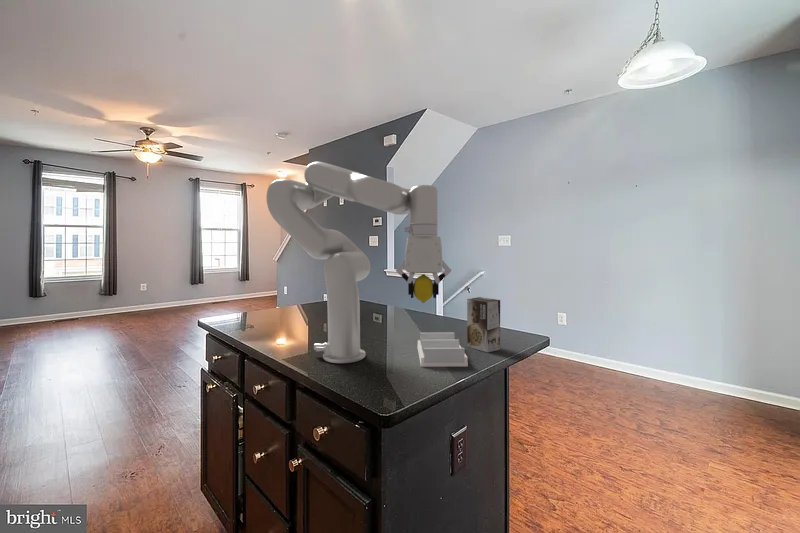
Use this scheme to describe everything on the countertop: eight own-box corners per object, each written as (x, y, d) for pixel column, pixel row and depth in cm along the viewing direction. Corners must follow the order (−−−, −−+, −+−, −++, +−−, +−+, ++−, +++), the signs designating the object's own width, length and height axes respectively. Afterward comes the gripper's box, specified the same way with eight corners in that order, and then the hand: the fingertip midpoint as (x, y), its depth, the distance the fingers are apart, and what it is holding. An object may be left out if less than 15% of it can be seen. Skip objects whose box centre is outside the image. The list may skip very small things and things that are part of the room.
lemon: (431, 305, 96) (431, 275, 95) (411, 304, 97) (411, 274, 97) (434, 301, 101) (434, 273, 101) (415, 301, 103) (415, 273, 102)
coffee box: (500, 349, 115) (501, 299, 114) (487, 353, 112) (487, 301, 111) (479, 343, 123) (480, 296, 122) (466, 346, 119) (466, 298, 118)
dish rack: (420, 366, 99) (420, 348, 99) (417, 347, 118) (417, 332, 118) (467, 366, 99) (467, 348, 99) (456, 347, 118) (456, 332, 118)
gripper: (391, 231, 95) (391, 299, 96) (456, 231, 94) (456, 299, 95) (393, 232, 102) (393, 295, 103) (453, 232, 102) (453, 295, 103)
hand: (423, 296), depth 99 cm, fingers closed on lemon, 5 cm apart
